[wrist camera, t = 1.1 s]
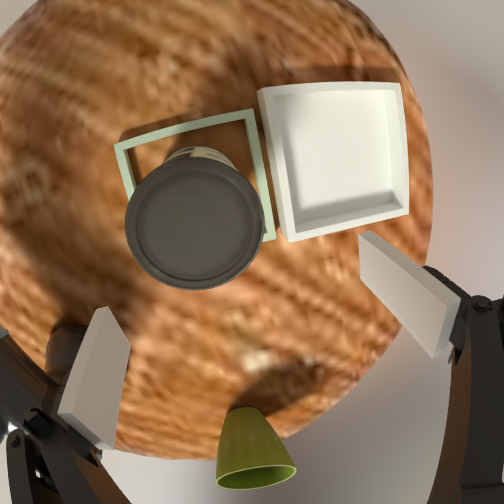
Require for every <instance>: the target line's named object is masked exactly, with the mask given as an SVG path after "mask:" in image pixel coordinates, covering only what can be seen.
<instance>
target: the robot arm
mask: <svg viewBox="0 0 504 504" xmlns="http://www.w3.org/2000/svg"><path fill="white" fill-rule="evenodd" d="M358 237H359V256H360V280H361V281H362V282H363V283H364V284H365V285H366V286H367V287H368V288H369V289H370V290H371V291H372V292H373V293H374V294H375V295H376V296H377V297H378V299H379V300H380V301H381V302H382V303H383V304H384V305H385V306H386V307H387V308H388V309H389V310H390V311H391V313H392V314H393V315H394V316H395V317H396V318H397V319H398V320H399V321H400V322H401V324H402V325H403V326H404V327H405V328H406V329H407V330H408V331H409V332H410V334H411V335H412V336H413V337H414V338H415V339H416V340H417V342H418V343H419V344H420V345H421V346H422V347H423V348H424V350H425V351H426V352H427V353H428V354H429V356H430V357H431V358H432V359H433V358H435V357H436V356H438V355H440V354H441V353H443V352H445V351H446V348H447V345H448V342H449V341H450V342H451V343H452V344H453V345H454V346H453V349H452V352H451V355H450V357H449V360H448V363H450V362H451V359H452V370H451V387H450V398H449V407H448V415H447V422H446V429H445V435H444V441H443V446H442V451H441V455H440V460H439V464H438V468H437V472H436V476H435V480H434V483H433V487H432V490H431V493H430V497H429V500H428V502H427V504H504V483H503V482H502V471H503V464H504V296H503V298H502V299H498V300H495V301H491V300H490V299H489V298H487V297H485V296H480V295H477V296H473V297H471V296H470V295H469V294H467V293H466V292H465V291H464V290H462V289H461V288H460V287H459V286H457V285H456V284H455V283H453V282H452V281H450V280H449V279H448V278H447V277H446V276H444V275H443V274H442V273H440V272H439V271H438V270H436V269H434V268H431V267H429V266H423V267H421V266H420V265H418V264H417V263H416V262H414V261H413V260H412V259H410V258H409V257H407V256H406V255H405V254H403V253H402V252H401V251H399V250H398V249H397V248H395V247H394V246H392V245H391V244H390V243H388V242H387V241H385V240H384V239H382V238H381V237H380V236H378V235H377V234H375V233H374V232H372V231H367V232H364V233H361V234H358ZM8 333H9V331H8V330H7V329H4V328H3V326H2V325H1V324H0V444H1V442H2V440H3V438H4V436H5V435H8V438H7V442H6V452H7V467H8V478H9V486H10V493H11V499H12V504H131V503H130V501H129V500H128V499H127V498H126V496H125V495H124V494H123V493H122V491H121V490H120V489H119V487H118V486H117V485H116V484H115V482H114V481H113V479H112V478H111V477H110V475H109V474H108V472H107V471H106V470H105V468H104V467H103V465H102V464H101V462H100V461H101V459H102V450H114V445H115V436H116V428H117V421H118V414H119V408H120V401H121V395H122V389H123V384H124V381H125V377H126V372H127V363H128V358H129V353H130V349H131V344H130V342H129V341H128V339H127V337H126V336H125V334H124V332H123V331H122V329H121V328H120V326H119V324H118V322H117V321H116V319H115V317H114V316H113V314H112V312H111V310H110V309H109V307H108V306H106V307H102V308H99V309H96V311H95V313H94V315H93V317H92V320H91V322H90V324H89V327H88V328H87V327H84V326H79V325H64V326H61V327H59V328H57V329H56V330H55V331H54V332H53V333H52V335H51V337H50V339H49V341H48V343H47V347H46V356H47V357H46V364H45V372H44V371H43V370H42V369H41V368H40V367H39V366H38V365H37V364H36V363H35V362H34V361H33V360H32V359H31V358H30V357H29V356H28V355H27V354H26V353H25V352H24V351H23V350H22V348H21V347H20V346H19V345H18V344H17V343H16V342H15V341H14V339H13V338H12V337H11V336H10V335H9V334H8ZM35 470H36V471H38V472H39V473H40V478H39V477H37V476H36V471H35Z"/></svg>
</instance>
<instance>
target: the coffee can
mask: <svg viewBox="0 0 504 504" xmlns="http://www.w3.org/2000/svg"><path fill="white" fill-rule="evenodd" d="M264 230H265V216H264V211H263V206H262V203H261V200H260V198H259V196H258V194H257V192H256V190H255V189H254V187H253V186H252V184H251V183H250V182H249V181H248V180H247V179H246V178H245V177H244V176H243V175H242V174H241V173H240V172H238V170H237V169H236V168H235V167H234V165H233V164H232V162H231V161H230V160H229V159H228V158H227V157H226V156H225V155H224V154H222V153H221V152H219V151H217V150H215V149H212V148H209V147H204V146H192V147H187V148H183V149H181V150H179V151H177V152H175V153H173V154H172V155H171V156H170V157H168V158H167V159H166V160H165V161H164V163H163V164H162V165H161V166H159V167H157V168H156V169H154V170H153V171H152V172H150V173H149V174H148V175H147V176H146V177H145V178H144V179H143V180H142V181H141V182H140V183H139V185H138V186H137V187H136V189H135V190H134V192H133V194H132V196H131V198H130V200H129V203H128V206H127V210H126V216H125V231H126V238H127V241H128V245H129V248H130V250H131V252H132V254H133V256H134V258H135V259H136V261H137V262H138V264H139V265H140V266H141V267H142V268H143V269H144V270H145V271H146V272H147V273H148V274H149V275H150V276H152V277H153V278H155V279H156V280H158V281H160V282H162V283H164V284H166V285H168V286H171V287H174V288H178V289H183V290H206V289H211V288H215V287H218V286H221V285H223V284H225V283H227V282H229V281H231V280H233V279H234V278H236V277H237V276H239V275H240V274H241V273H242V272H243V271H244V270H246V268H247V267H248V266H249V265H250V264H251V263H252V261H253V260H254V258H255V257H256V255H257V253H258V251H259V249H260V247H261V244H262V241H263V236H264Z"/></svg>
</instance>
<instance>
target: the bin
mask: <svg viewBox="0 0 504 504" xmlns="http://www.w3.org/2000/svg"><path fill="white" fill-rule="evenodd" d="M256 94H257V99H258V104H259V109H260V114H261V119H262V125H263V130H264V135H265V141H266V146H267V152H268V157H269V163H270V168H271V174H272V180H273V186H274V192H275V198H276V204H277V210H278V216H279V222H280V229H281V233H282V235H283V236H284V237H285V239H286V240H287V241H288V243H291V242H295V241H299V240H304V239H308V238H312V237H316V236H320V235H324V234H328V233H332V232H336V231H340V230H345V229H349V228H353V227H357V226H361V225H365V224H369V223H373V222H377V221H382V220H386V219H390V218H394V217H398V216H402V215H406V214H409V170H408V149H407V136H406V125H405V116H404V108H403V100H402V93H401V87H400V83H389V82H319V83H304V84H292V85H282V86H273V87H265V88H261V89H260V90H258V91H257V92H256Z"/></svg>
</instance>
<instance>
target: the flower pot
mask: <svg viewBox="0 0 504 504" xmlns="http://www.w3.org/2000/svg"><path fill="white" fill-rule="evenodd" d="M296 471H297V469H296V467H295V465H294V463H293V461H292V459H291V457H290V455H289V453H288V452H287V450H286V448H285V446H284V445H283V443H282V441H281V440H280V438H279V437H278V435H277V434H276V432H275V431H274V429H273V428H272V427H271V425H270V424H269V422H268V421H267V420H266V419H265V417H264V416H263V415H262V414H261V412H260V411H259V410H258V409H256V408H253V407H240V408H236V409H234V410H232V411H230V412H229V413H228V414H227V415H226V418H225V421H224V424H223V428H222V432H221V436H220V441H219V446H218V454H217V469H216V483H217V485H218V486H220V487H223V488H227V489H234V490H243V489H244V490H245V489H254V488H262V487H266V486H270V485H274V484H277V483H280V482H282V481H285V480H287V479H288V478H290V477H291V476H293V475H294V474H295V473H296Z"/></svg>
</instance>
